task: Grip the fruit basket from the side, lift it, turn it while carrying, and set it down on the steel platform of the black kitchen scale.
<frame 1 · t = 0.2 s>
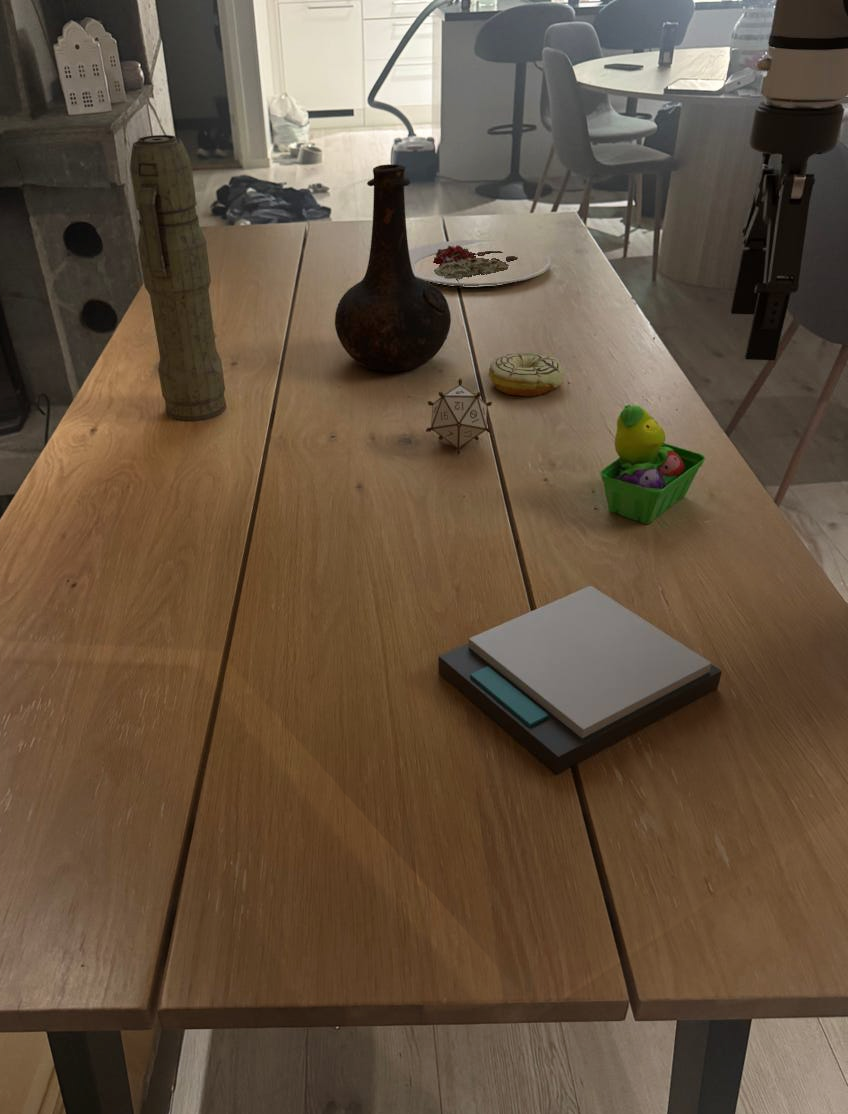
hand: (751, 335, 99), 20 cm above the table, tool pointing down, fingers open, 13 cm apart
game die: (458, 446, 126), on the table
glass bottle: (393, 362, 151), on the table
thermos: (196, 410, 138), on the table
fruit basket: (642, 503, 112), on the table
decorated donut: (525, 387, 141), on the table
plated food: (472, 271, 189), on the table
kitchen scale: (575, 680, 86), on the table
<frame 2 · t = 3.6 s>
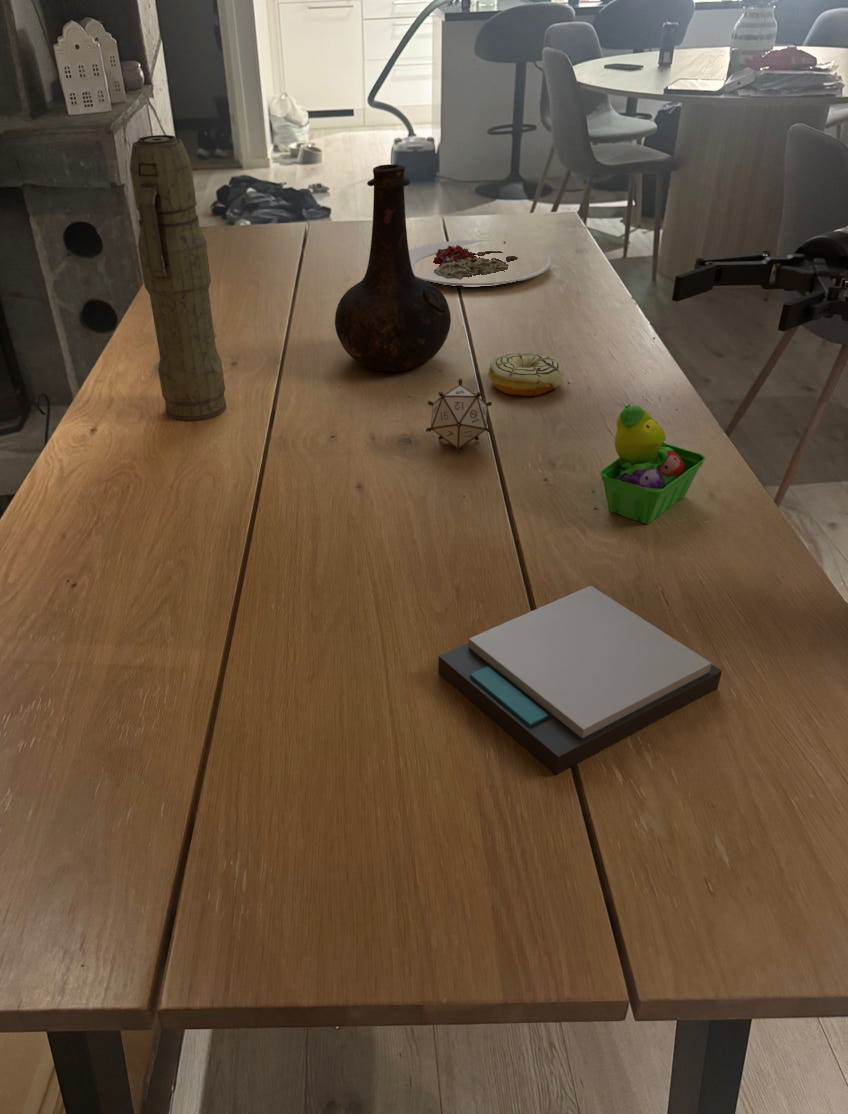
hand: (727, 302, 104), 21 cm above the table, tool horizontal, fingers open, 13 cm apart
nothing on the table moved.
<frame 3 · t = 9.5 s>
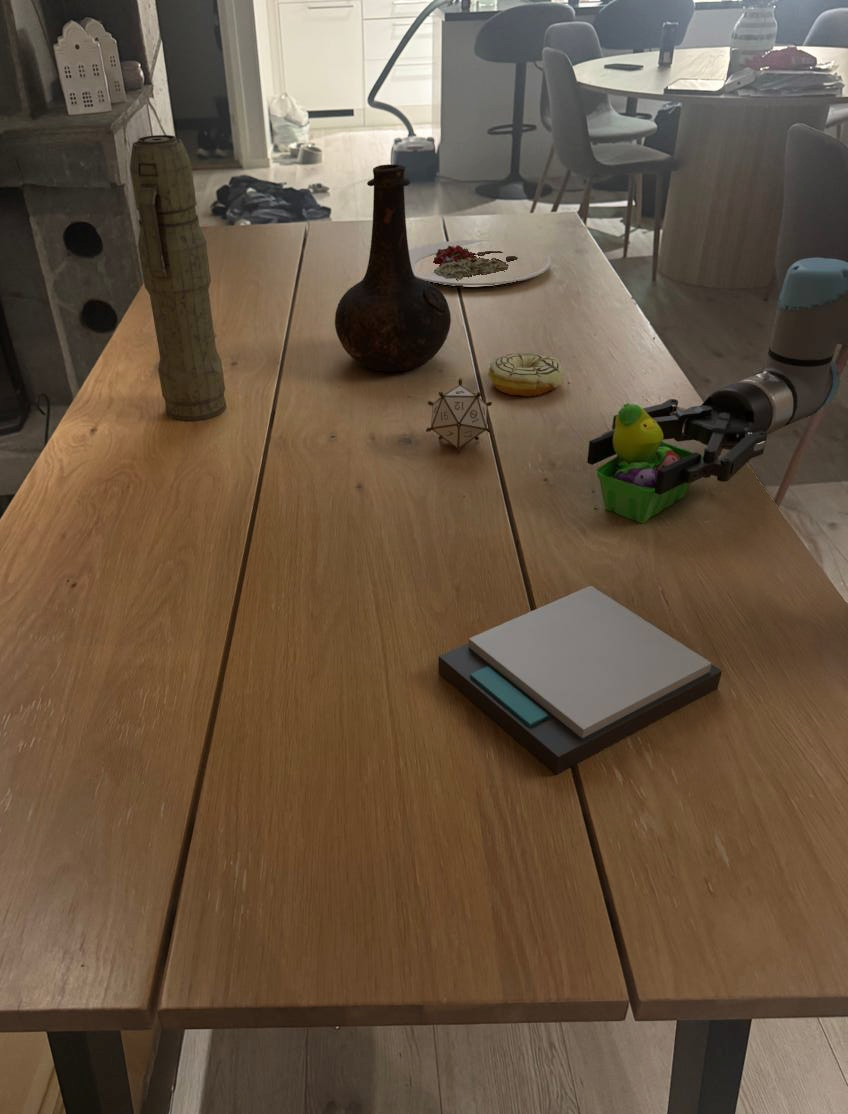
hand: (623, 467, 106), 6 cm above the table, tool horizontal, fingers closed on fruit basket, 9 cm apart
fruit basket: (640, 502, 112), on the table, touching gripper
everything else where it was.
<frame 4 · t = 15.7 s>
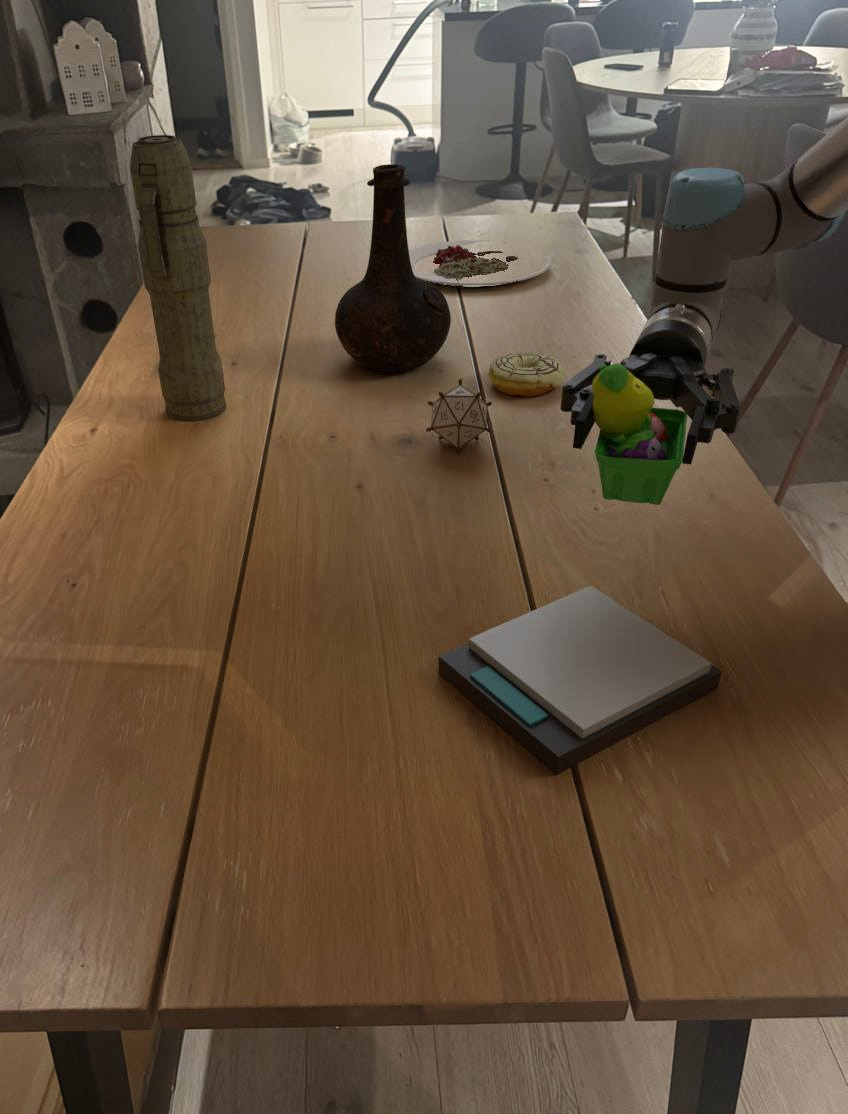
hand: (632, 442, 84), 18 cm above the table, tool horizontal, fingers closed on fruit basket, 9 cm apart
fruit basket: (628, 482, 92), point 12 cm above the table, touching gripper
everything else where it was.
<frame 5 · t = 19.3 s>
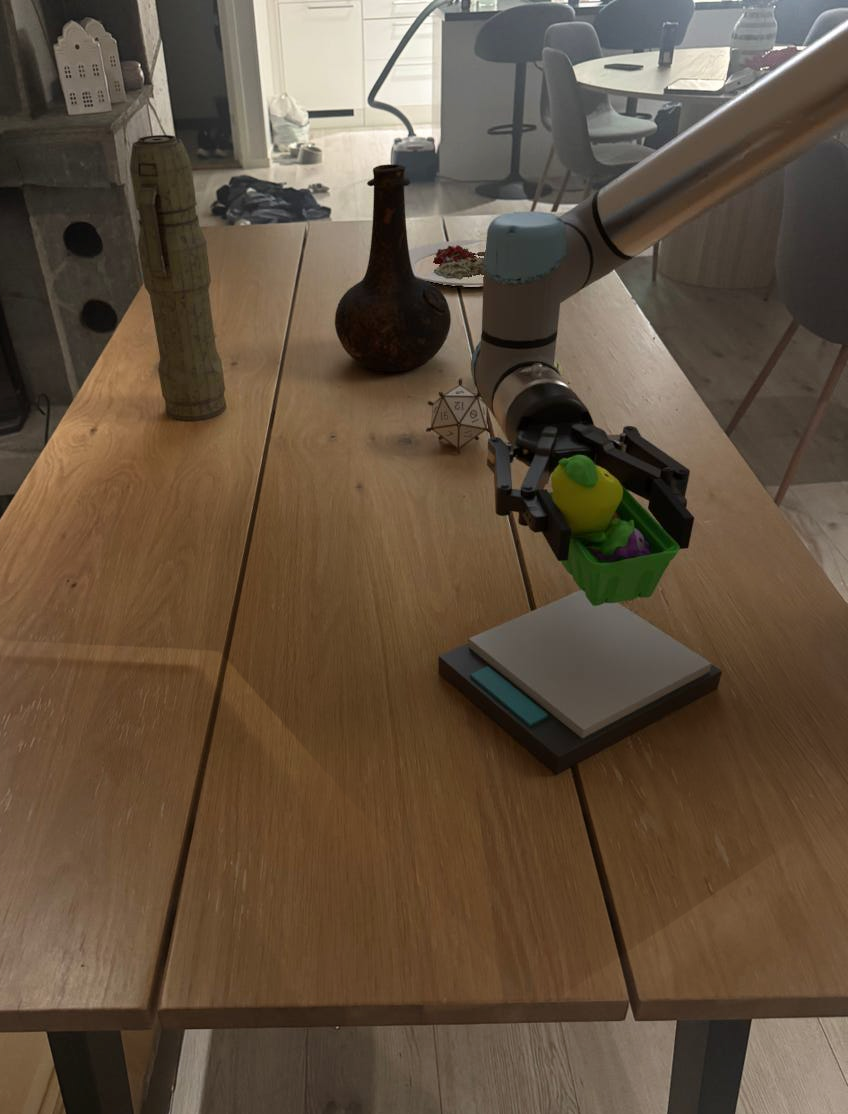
hand: (625, 539, 73), 17 cm above the table, tool horizontal, fingers closed on fruit basket, 9 cm apart
fruit basket: (592, 576, 80), point 11 cm above the table, touching gripper
everything else where it was.
when the fingers open (9 cm above the table, at t = 22.0 s): fruit basket stays where it is, resting on kitchen scale.
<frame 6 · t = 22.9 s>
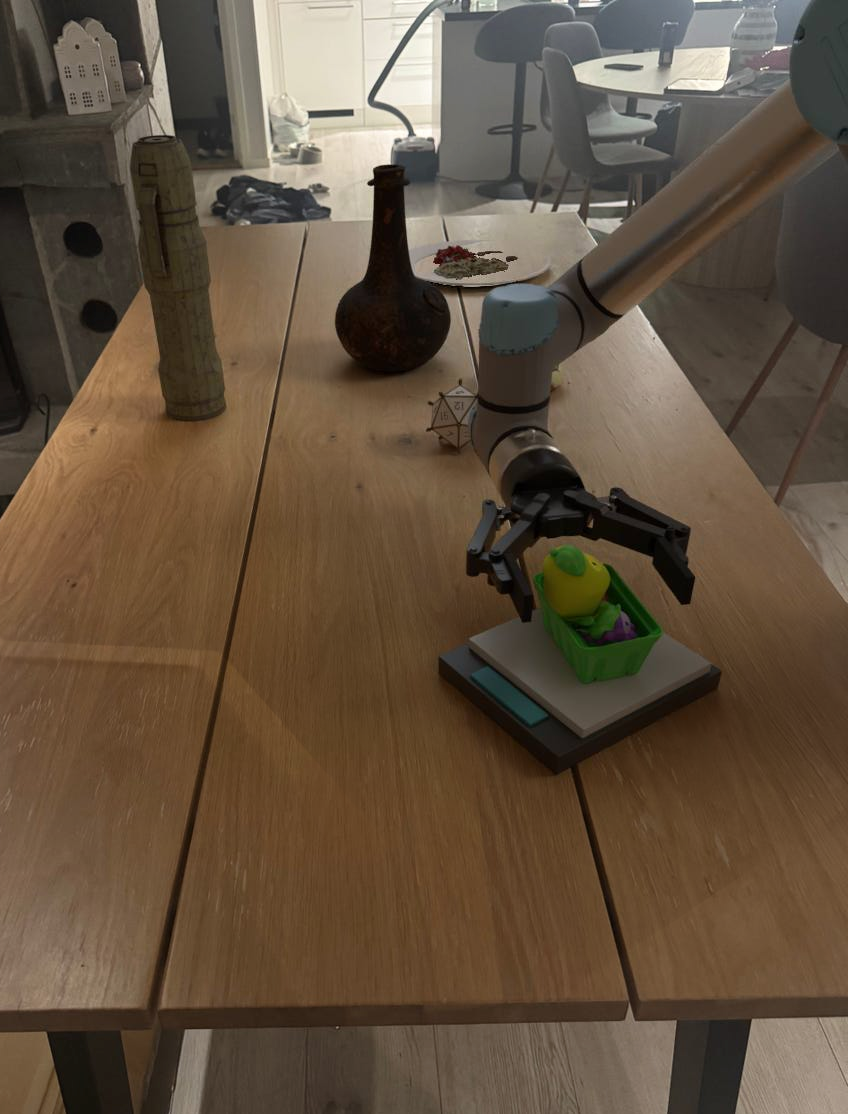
hand: (609, 600, 78), 10 cm above the table, tool horizontal, fingers open, 13 cm apart
fruit basket: (582, 652, 85), point 3 cm above the table, touching kitchen scale
everything else where it was.
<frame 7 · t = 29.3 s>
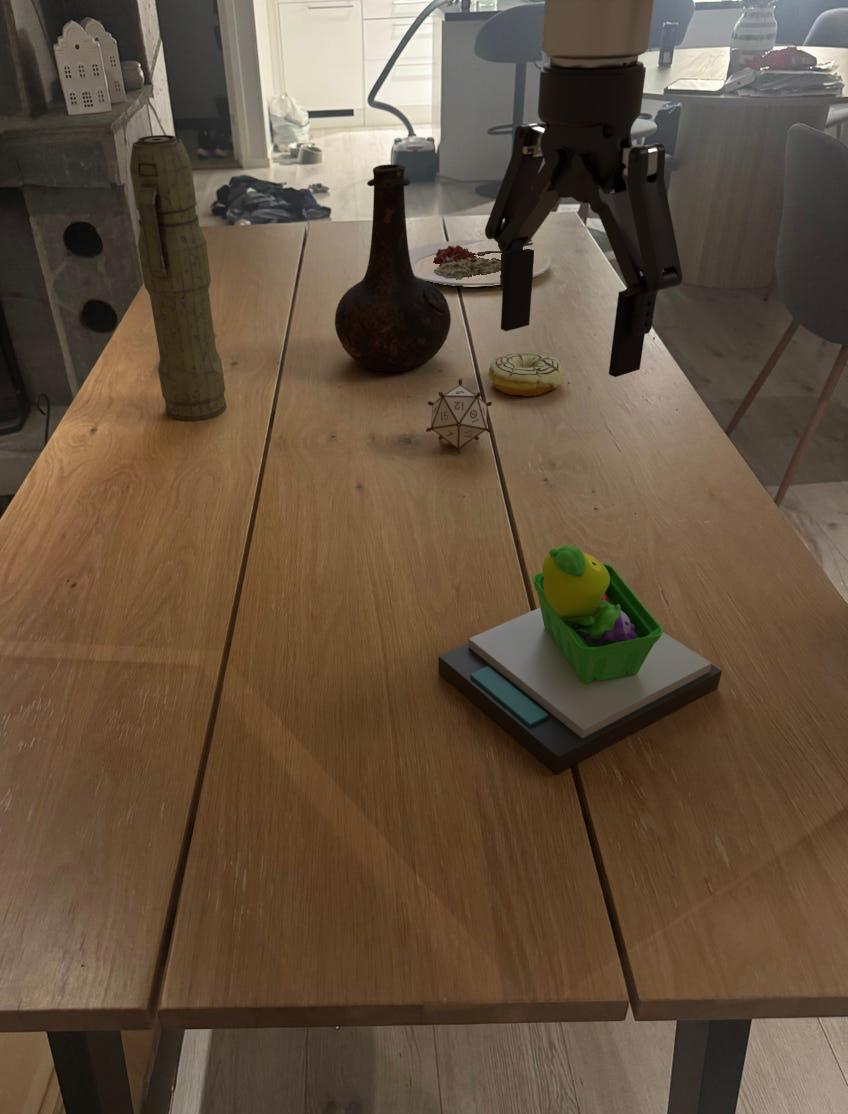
hand: (566, 348, 82), 26 cm above the table, tool pointing down, fingers open, 13 cm apart
nothing on the table moved.
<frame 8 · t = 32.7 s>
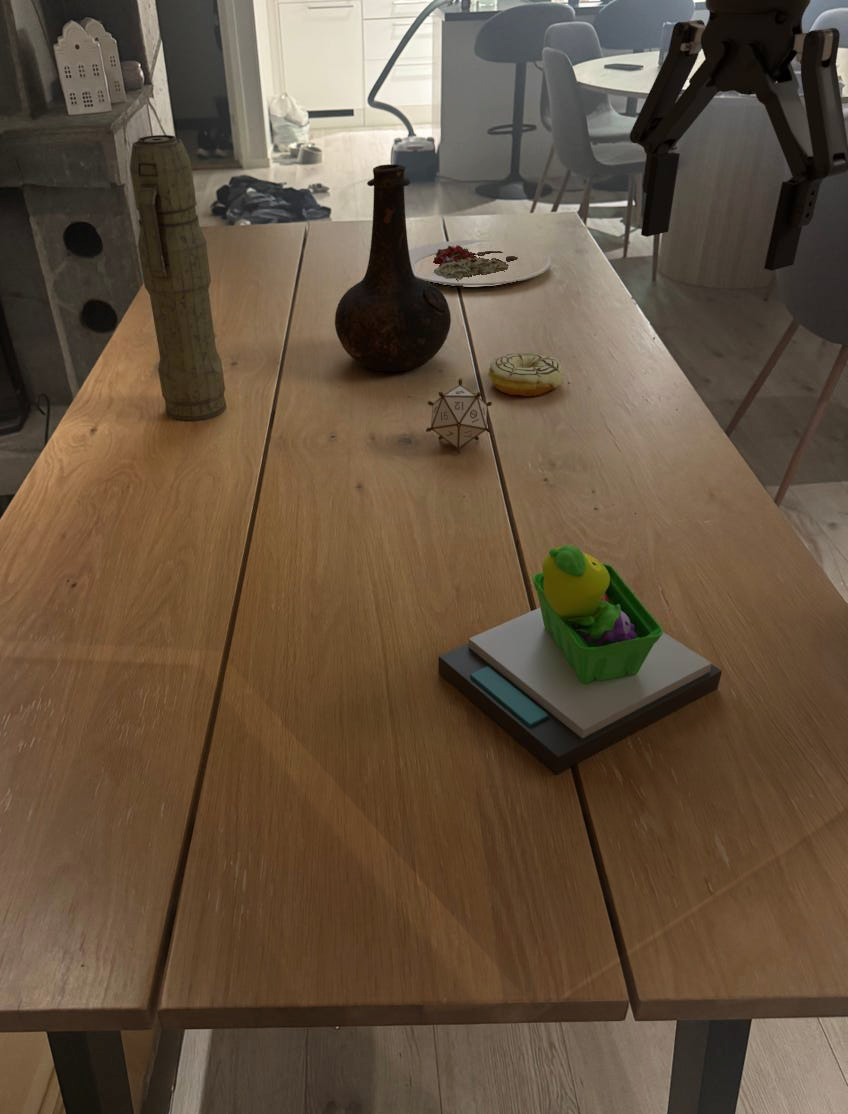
hand: (713, 249, 83), 32 cm above the table, tool pointing down, fingers open, 13 cm apart
nothing on the table moved.
at the end: fruit basket inside the target area on the kitchen scale (0.4 cm from its centre), point 2.8 cm above the kitchen scale's base; fruit basket tilted 0°; the gripper is holding nothing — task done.
